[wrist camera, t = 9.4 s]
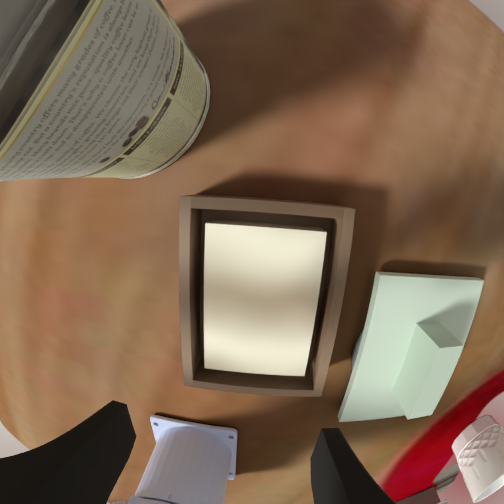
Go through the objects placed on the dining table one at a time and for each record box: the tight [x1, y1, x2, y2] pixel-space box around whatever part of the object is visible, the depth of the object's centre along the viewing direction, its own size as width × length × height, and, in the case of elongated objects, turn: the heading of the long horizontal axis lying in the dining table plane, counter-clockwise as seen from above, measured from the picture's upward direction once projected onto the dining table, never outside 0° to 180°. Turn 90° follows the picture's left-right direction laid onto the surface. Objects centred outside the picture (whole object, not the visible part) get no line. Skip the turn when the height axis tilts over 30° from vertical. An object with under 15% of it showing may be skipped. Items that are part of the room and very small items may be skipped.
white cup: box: [452, 415, 504, 503], centre depth 16 cm, size 8×8×10 cm
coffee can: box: [0, 0, 210, 181], centre depth 9 cm, size 10×10×14 cm
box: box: [179, 195, 355, 397], centre depth 17 cm, size 12×9×3 cm
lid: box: [338, 271, 484, 422], centre depth 16 cm, size 13×10×4 cm
